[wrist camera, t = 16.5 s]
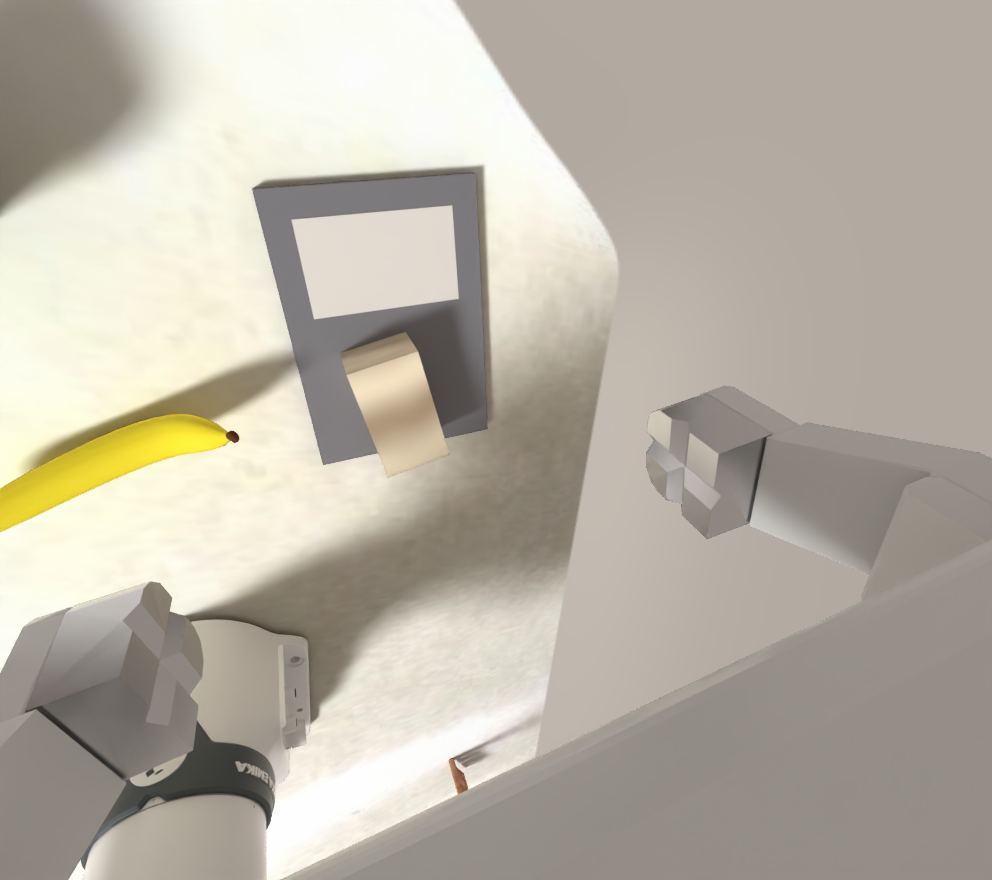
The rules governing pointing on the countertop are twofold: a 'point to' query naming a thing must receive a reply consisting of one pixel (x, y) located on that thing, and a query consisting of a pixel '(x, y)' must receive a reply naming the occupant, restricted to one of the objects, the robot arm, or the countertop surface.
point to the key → (458, 777)
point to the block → (396, 402)
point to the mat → (380, 292)
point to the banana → (107, 462)
